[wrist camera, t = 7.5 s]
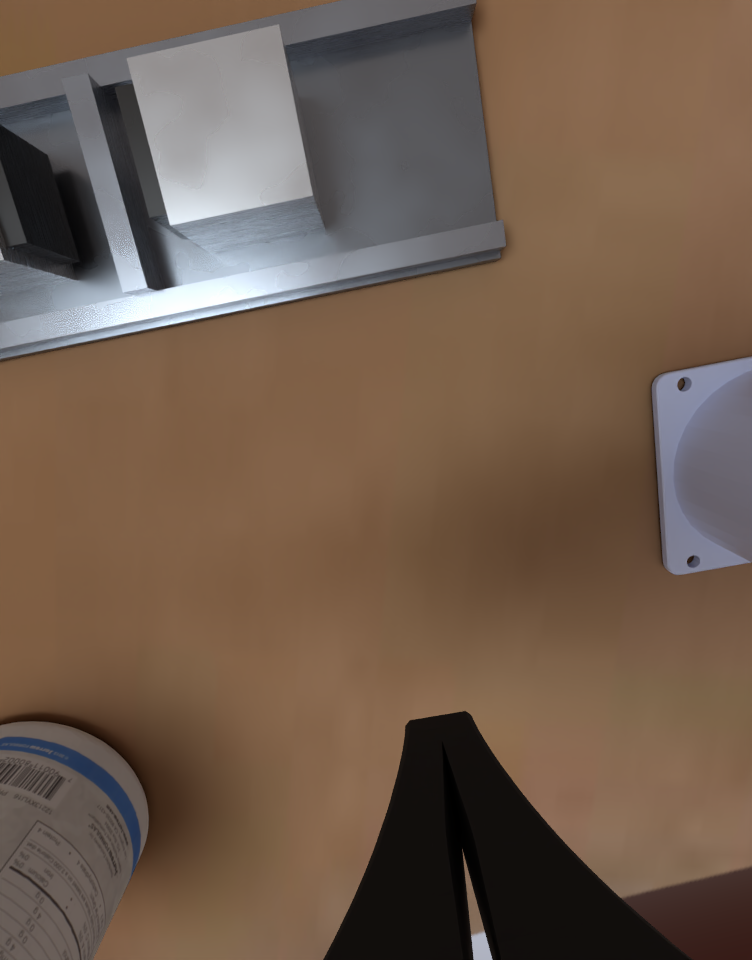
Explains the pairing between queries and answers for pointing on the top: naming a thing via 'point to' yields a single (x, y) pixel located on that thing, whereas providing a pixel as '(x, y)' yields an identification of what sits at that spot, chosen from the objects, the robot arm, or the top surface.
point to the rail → (265, 266)
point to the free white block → (222, 141)
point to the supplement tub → (63, 839)
